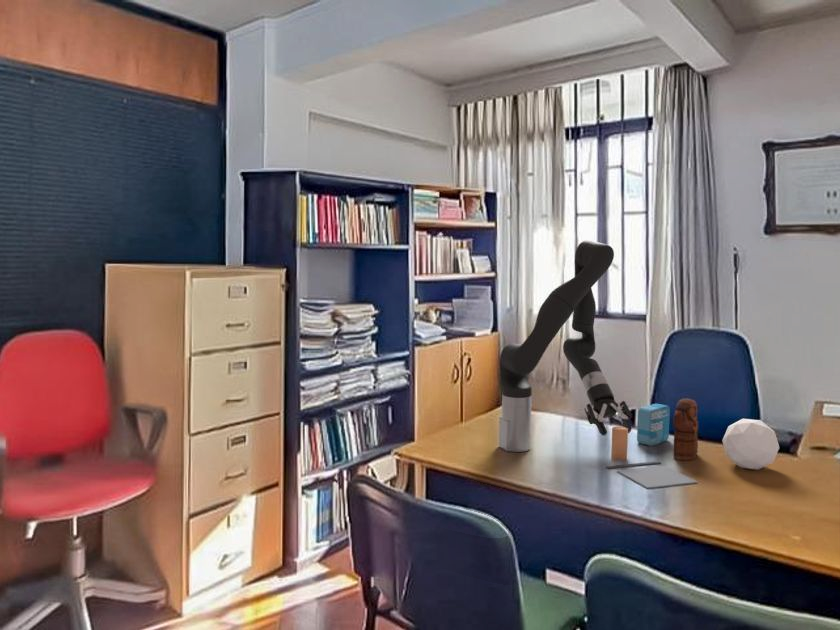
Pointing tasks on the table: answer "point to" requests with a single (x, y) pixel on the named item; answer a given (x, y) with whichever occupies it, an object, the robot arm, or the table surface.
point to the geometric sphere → (750, 444)
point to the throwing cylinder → (619, 443)
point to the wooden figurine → (685, 430)
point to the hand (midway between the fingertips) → (617, 433)
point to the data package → (653, 424)
